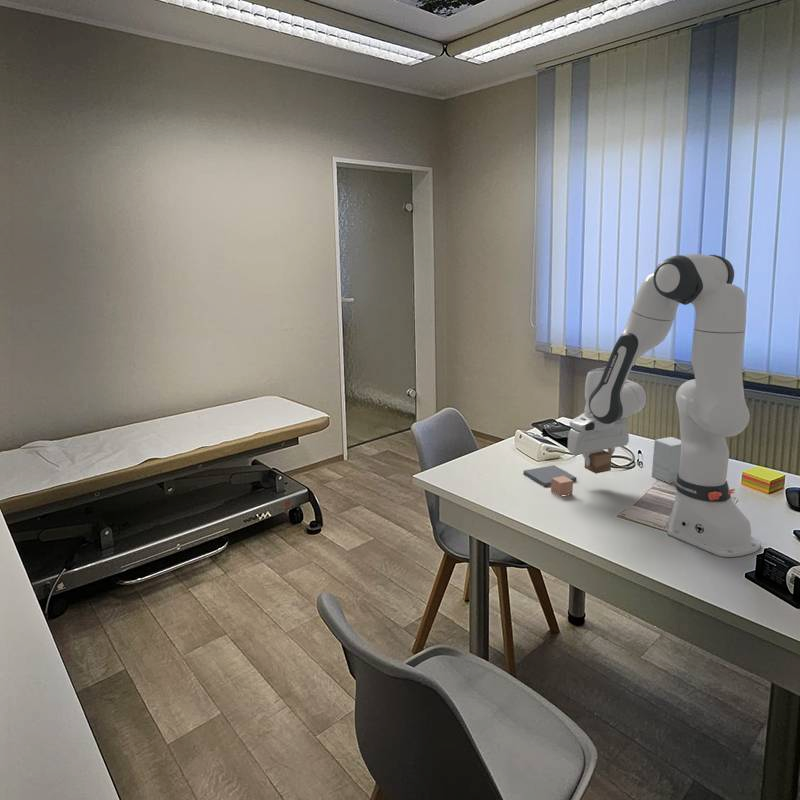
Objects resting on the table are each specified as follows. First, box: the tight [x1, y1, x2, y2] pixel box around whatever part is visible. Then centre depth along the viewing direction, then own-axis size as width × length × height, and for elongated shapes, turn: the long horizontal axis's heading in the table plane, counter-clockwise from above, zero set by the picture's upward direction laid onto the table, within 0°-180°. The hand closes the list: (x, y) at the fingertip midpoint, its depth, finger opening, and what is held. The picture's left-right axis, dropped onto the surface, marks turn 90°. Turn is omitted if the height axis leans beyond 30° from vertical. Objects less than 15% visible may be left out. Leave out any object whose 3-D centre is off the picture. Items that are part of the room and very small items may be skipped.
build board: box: [523, 464, 577, 488], centre depth 198 cm, size 12×12×1 cm
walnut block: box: [584, 449, 612, 475], centre depth 188 cm, size 6×6×6 cm
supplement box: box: [651, 436, 681, 484], centre depth 194 cm, size 7×7×13 cm
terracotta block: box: [550, 476, 574, 497], centre depth 186 cm, size 4×4×4 cm
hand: (598, 463), depth 188 cm, fingers closed on walnut block, 5 cm apart
